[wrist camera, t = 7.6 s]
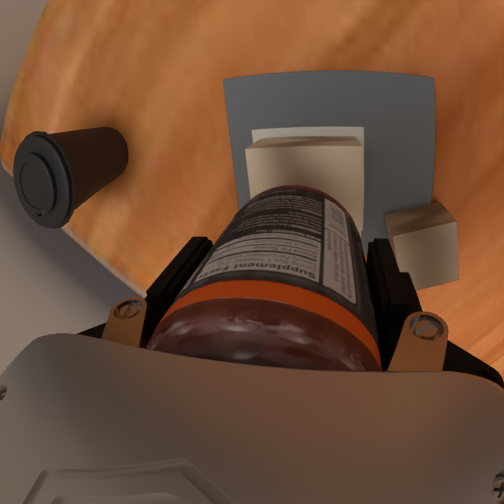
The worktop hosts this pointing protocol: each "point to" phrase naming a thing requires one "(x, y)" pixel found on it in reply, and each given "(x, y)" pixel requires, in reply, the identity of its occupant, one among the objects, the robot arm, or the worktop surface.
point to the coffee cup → (65, 170)
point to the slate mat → (345, 130)
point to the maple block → (310, 167)
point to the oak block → (425, 244)
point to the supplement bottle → (279, 290)
